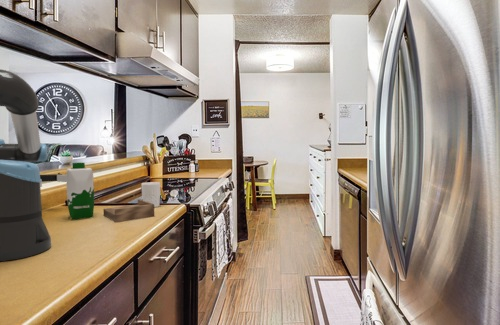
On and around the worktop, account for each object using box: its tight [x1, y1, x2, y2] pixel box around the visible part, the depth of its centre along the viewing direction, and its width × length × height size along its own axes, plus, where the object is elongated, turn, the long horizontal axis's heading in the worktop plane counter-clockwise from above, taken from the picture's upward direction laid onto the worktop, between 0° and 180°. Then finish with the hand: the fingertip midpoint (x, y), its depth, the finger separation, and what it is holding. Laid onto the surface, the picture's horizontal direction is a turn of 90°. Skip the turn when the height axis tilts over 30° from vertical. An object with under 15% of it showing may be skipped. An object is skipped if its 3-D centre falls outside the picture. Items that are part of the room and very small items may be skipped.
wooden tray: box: [102, 198, 155, 223], centre depth 121 cm, size 14×14×4 cm
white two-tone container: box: [65, 162, 95, 221], centre depth 120 cm, size 9×9×20 cm
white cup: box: [140, 181, 161, 208], centre depth 139 cm, size 8×8×10 cm
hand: (56, 180), depth 122 cm, fingers open, 13 cm apart
